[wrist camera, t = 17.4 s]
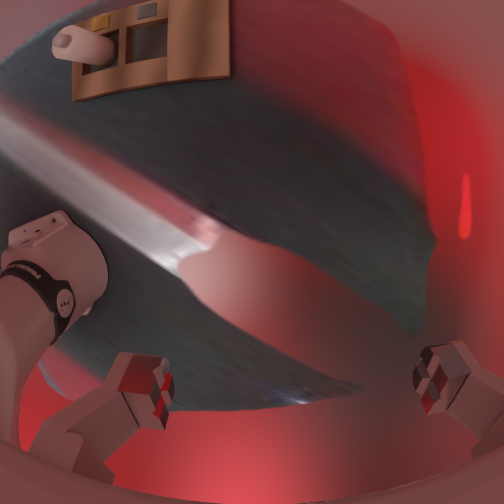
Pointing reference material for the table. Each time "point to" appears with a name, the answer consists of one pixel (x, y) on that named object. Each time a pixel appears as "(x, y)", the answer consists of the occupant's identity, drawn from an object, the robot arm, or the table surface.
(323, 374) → the table surface
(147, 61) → the board
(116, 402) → the robot arm
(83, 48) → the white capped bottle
